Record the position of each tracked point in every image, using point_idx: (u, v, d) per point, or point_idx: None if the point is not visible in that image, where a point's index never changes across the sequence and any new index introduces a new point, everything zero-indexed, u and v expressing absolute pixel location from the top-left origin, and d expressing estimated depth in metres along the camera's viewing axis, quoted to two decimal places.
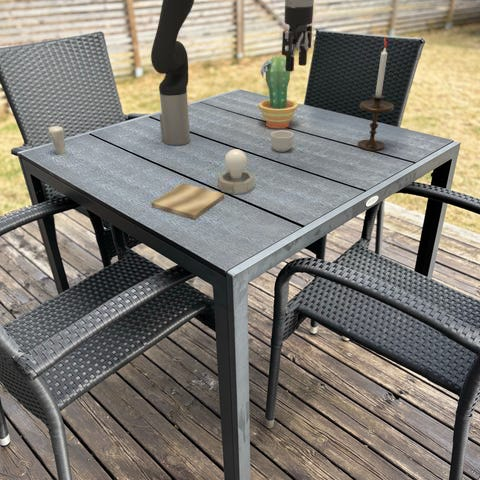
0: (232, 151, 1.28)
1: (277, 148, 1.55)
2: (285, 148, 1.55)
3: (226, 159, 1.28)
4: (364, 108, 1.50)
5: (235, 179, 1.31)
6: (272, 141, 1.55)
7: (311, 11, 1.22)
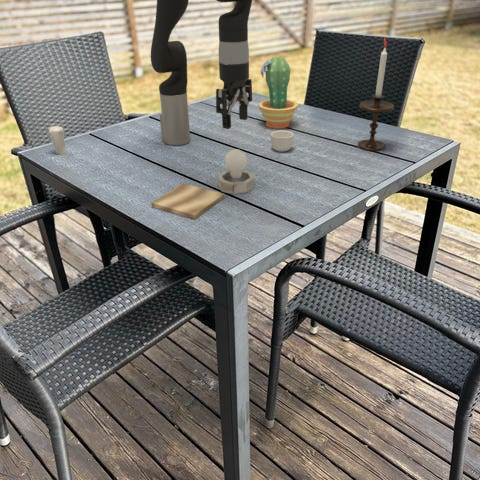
0: (232, 151, 1.28)
1: (277, 148, 1.55)
2: (285, 148, 1.55)
3: (226, 159, 1.28)
4: (364, 108, 1.50)
5: (235, 179, 1.31)
6: (272, 141, 1.55)
7: (246, 67, 1.15)
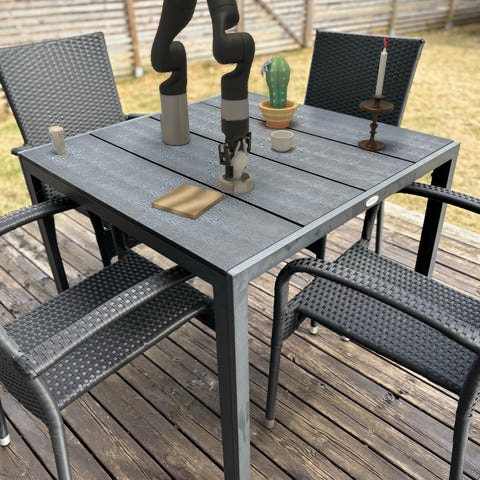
0: None
1: (277, 148, 1.55)
2: (285, 148, 1.55)
3: None
4: (364, 108, 1.50)
5: (235, 179, 1.31)
6: (272, 141, 1.55)
7: (246, 122, 1.22)
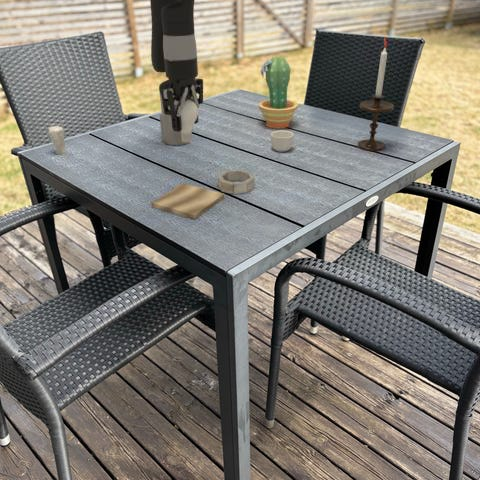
0: None
1: (277, 148, 1.55)
2: (285, 148, 1.55)
3: None
4: (364, 108, 1.50)
5: (185, 134, 1.15)
6: (272, 141, 1.55)
7: (193, 64, 1.05)
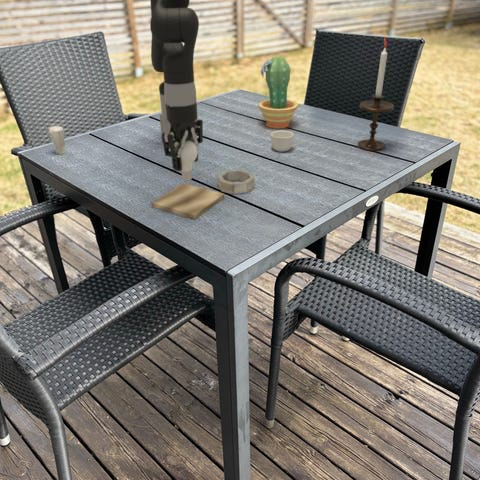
0: None
1: (277, 148, 1.55)
2: (285, 148, 1.55)
3: None
4: (364, 108, 1.50)
5: (185, 172, 1.20)
6: (272, 141, 1.55)
7: (193, 109, 1.10)
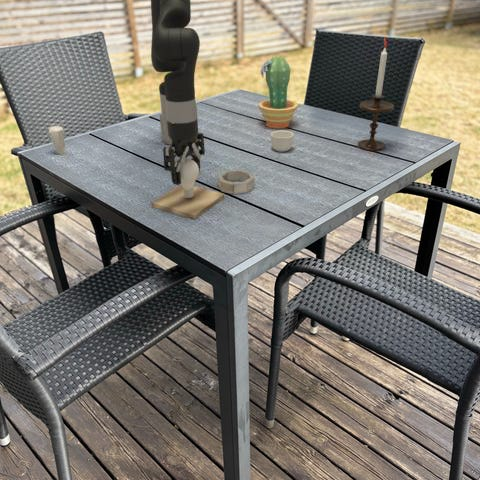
0: None
1: (277, 148, 1.55)
2: (285, 148, 1.55)
3: None
4: (364, 108, 1.50)
5: (187, 190, 1.23)
6: (272, 141, 1.55)
7: (194, 125, 1.12)
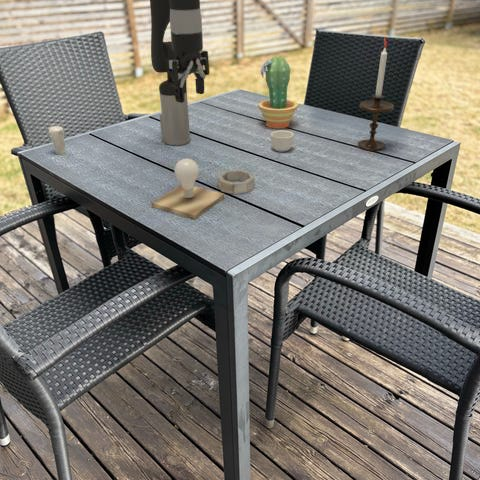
0: (182, 161, 1.19)
1: (277, 148, 1.55)
2: (285, 148, 1.55)
3: (176, 169, 1.19)
4: (364, 108, 1.50)
5: (187, 190, 1.23)
6: (272, 141, 1.55)
7: (198, 38, 1.09)
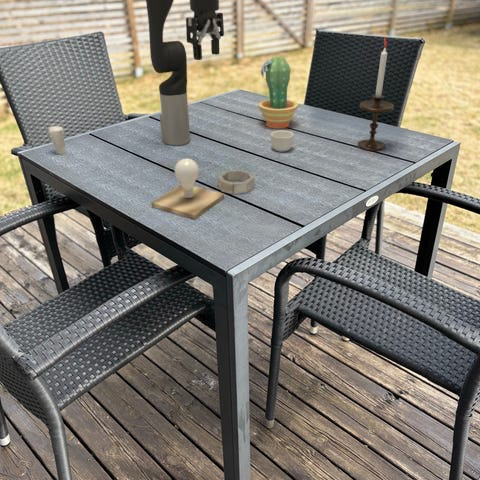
0: (182, 161, 1.19)
1: (277, 148, 1.55)
2: (285, 148, 1.55)
3: (176, 169, 1.19)
4: (364, 108, 1.50)
5: (187, 190, 1.23)
6: (272, 141, 1.55)
7: None
